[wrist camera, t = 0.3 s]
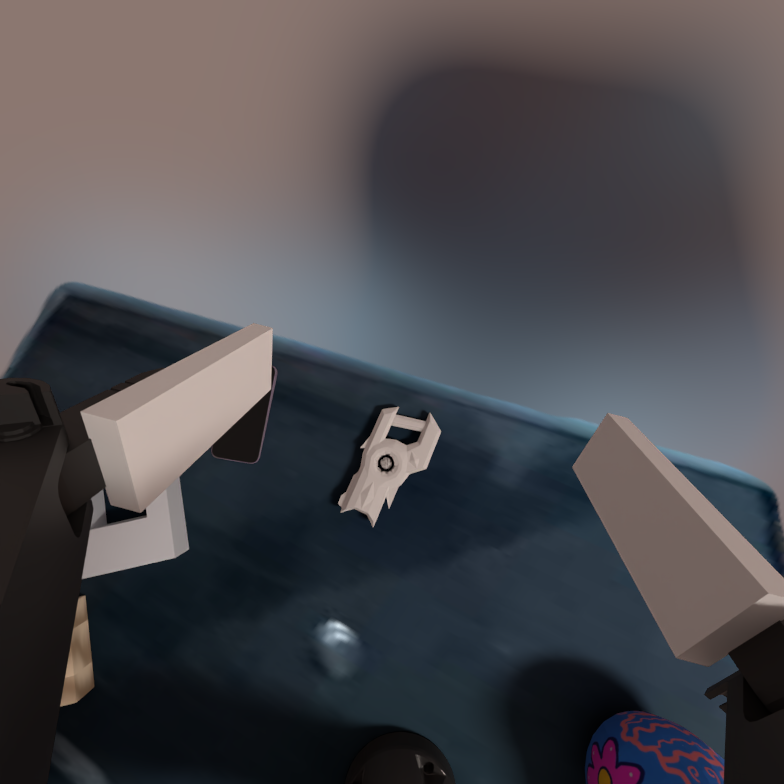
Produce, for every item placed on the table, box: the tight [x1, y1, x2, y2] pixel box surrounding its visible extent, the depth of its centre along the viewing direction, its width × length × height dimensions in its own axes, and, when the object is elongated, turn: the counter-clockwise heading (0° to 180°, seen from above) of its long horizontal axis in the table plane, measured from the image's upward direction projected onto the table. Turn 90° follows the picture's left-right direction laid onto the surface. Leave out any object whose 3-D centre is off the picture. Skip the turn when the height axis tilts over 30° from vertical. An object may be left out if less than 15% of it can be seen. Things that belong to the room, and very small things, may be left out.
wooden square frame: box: [60, 596, 94, 706], centre depth 42 cm, size 12×12×2 cm
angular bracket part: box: [338, 407, 441, 527], centre depth 46 cm, size 18×4×10 cm
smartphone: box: [211, 366, 277, 463], centre depth 48 cm, size 7×1×15 cm
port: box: [82, 477, 189, 579], centre depth 44 cm, size 18×14×3 cm
